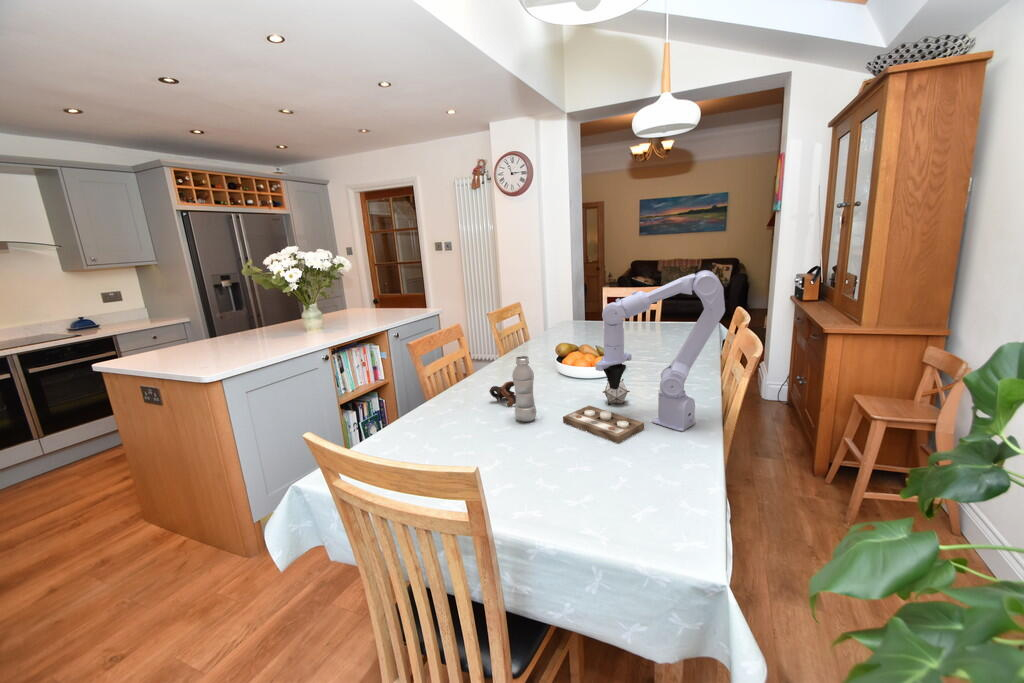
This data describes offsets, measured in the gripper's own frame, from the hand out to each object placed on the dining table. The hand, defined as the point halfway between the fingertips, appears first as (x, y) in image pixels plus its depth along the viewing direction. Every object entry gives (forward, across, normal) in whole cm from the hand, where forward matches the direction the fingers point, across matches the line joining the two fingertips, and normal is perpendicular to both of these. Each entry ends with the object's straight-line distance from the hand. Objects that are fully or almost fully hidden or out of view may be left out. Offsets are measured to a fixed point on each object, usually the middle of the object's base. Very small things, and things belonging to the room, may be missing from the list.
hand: (614, 388), depth 130 cm
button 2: (+9, +5, +7) cm, 13 cm away
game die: (+10, -10, -7) cm, 16 cm away
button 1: (+9, +5, -5) cm, 12 cm away
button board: (+9, +7, +1) cm, 12 cm away
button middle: (+8, +6, +1) cm, 10 cm away
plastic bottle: (+10, +19, -19) cm, 29 cm away
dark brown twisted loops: (+10, +13, -35) cm, 39 cm away
